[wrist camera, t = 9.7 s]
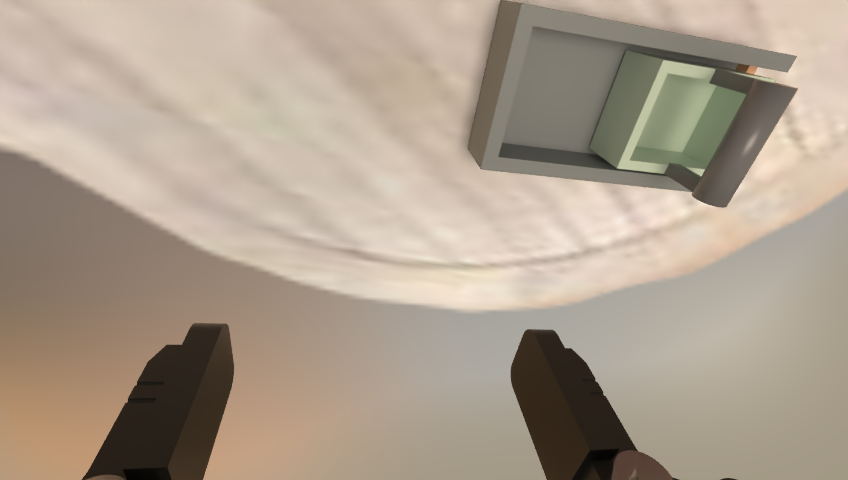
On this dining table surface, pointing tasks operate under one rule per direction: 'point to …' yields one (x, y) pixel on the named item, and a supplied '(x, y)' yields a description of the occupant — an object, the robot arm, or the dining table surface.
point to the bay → (574, 89)
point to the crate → (688, 122)
